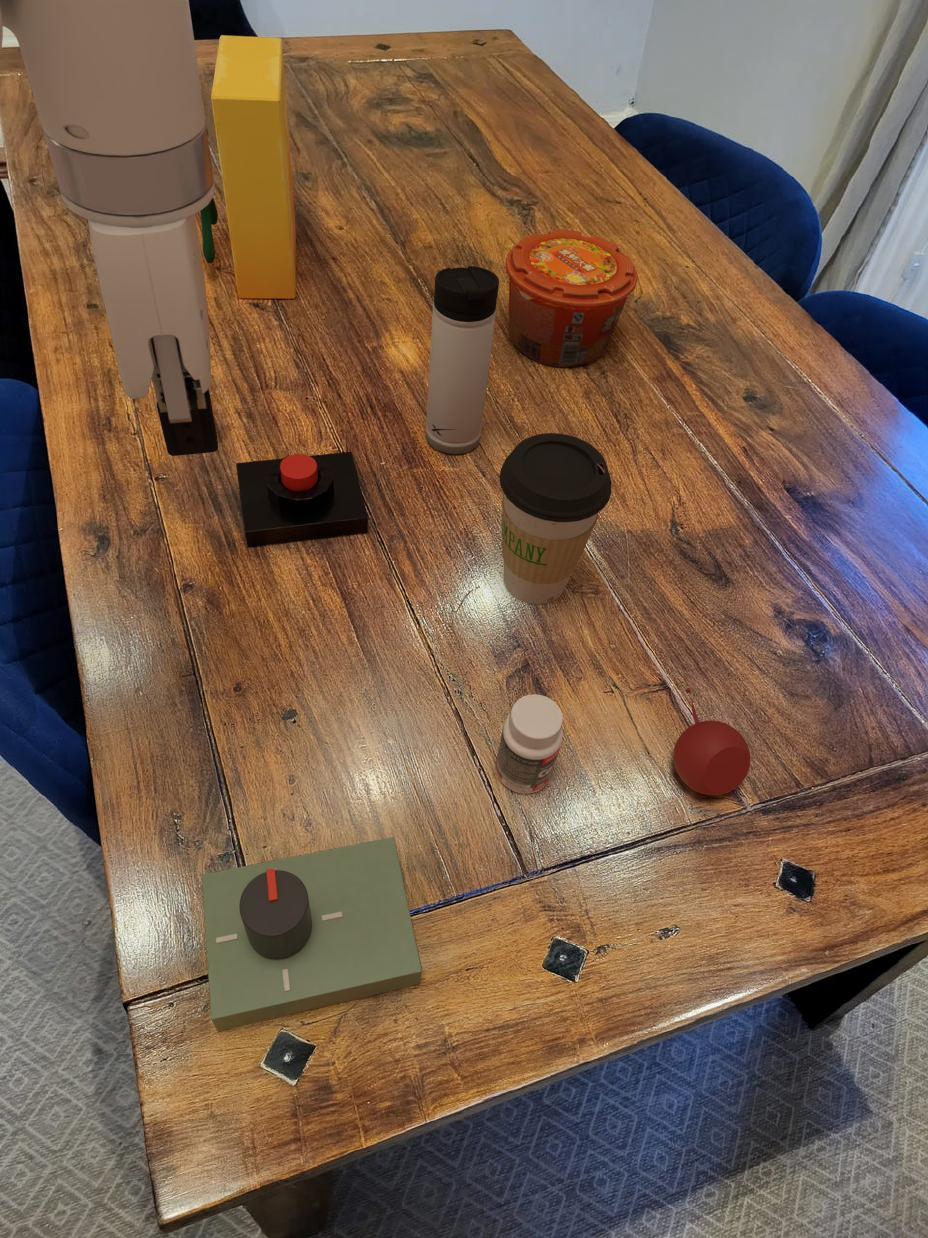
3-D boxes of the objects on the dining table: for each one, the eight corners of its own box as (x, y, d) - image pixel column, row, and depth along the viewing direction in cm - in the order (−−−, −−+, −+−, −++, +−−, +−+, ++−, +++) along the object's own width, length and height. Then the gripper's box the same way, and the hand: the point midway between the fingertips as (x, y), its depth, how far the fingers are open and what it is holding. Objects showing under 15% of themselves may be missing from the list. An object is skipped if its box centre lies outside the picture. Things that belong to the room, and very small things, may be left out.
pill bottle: (542, 802, 71) (559, 751, 65) (487, 784, 72) (498, 731, 66) (557, 755, 74) (575, 701, 68) (504, 737, 75) (517, 682, 68)
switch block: (247, 547, 86) (242, 518, 83) (238, 478, 92) (233, 449, 89) (368, 533, 89) (367, 504, 85) (352, 466, 94) (351, 437, 91)
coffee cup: (486, 539, 89) (502, 423, 78) (581, 547, 90) (612, 432, 78) (483, 614, 83) (501, 500, 71) (586, 623, 84) (620, 510, 72)
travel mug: (434, 460, 96) (445, 295, 80) (419, 422, 100) (427, 257, 84) (488, 453, 98) (510, 290, 82) (471, 416, 101) (489, 253, 86)
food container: (640, 334, 115) (661, 256, 106) (582, 393, 106) (600, 313, 97) (536, 289, 119) (549, 212, 111) (472, 342, 110) (480, 263, 102)
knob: (315, 953, 60) (311, 927, 56) (250, 966, 59) (241, 941, 55) (308, 891, 62) (303, 862, 58) (245, 903, 61) (236, 874, 57)
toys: (206, 228, 122) (175, 32, 103) (296, 230, 124) (281, 37, 105) (197, 298, 112) (161, 94, 93) (295, 299, 113) (279, 98, 94)
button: (283, 493, 86) (282, 480, 85) (279, 468, 88) (278, 455, 87) (320, 489, 87) (319, 476, 85) (315, 465, 89) (314, 451, 88)
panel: (217, 1031, 59) (210, 1019, 56) (207, 890, 65) (201, 873, 62) (420, 984, 62) (422, 970, 59) (393, 853, 68) (394, 835, 65)
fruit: (717, 758, 78) (719, 678, 75) (757, 791, 73) (761, 707, 70) (657, 776, 76) (656, 695, 73) (693, 811, 71) (694, 726, 68)
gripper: (58, 98, 47) (132, 381, 61) (46, 242, 38) (136, 533, 53) (202, 96, 49) (241, 372, 63) (222, 234, 40) (262, 519, 54)
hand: (193, 445), depth 58 cm, fingers closed
